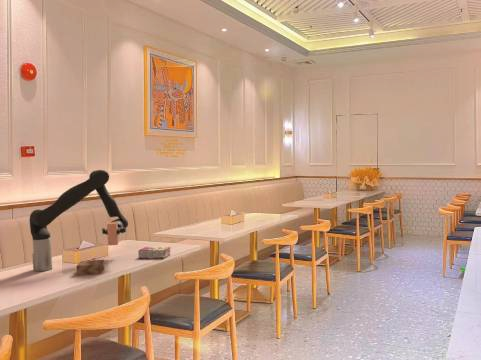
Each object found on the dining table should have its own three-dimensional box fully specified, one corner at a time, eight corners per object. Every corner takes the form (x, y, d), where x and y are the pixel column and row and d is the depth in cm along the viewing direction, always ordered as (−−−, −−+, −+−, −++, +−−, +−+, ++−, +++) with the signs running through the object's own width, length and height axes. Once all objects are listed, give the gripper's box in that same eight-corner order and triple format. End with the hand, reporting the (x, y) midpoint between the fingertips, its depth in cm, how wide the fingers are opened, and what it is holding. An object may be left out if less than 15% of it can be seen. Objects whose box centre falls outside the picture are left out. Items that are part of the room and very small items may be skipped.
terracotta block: (107, 245, 276) (106, 223, 275) (109, 243, 281) (108, 222, 280) (117, 245, 276) (116, 223, 276) (118, 243, 281) (117, 222, 281)
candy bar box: (145, 246, 308) (170, 246, 305) (145, 254, 309) (170, 254, 306) (138, 249, 297) (164, 250, 294) (138, 258, 298) (164, 258, 295)
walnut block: (77, 275, 260) (76, 265, 260) (81, 270, 272) (81, 261, 272) (100, 273, 262) (100, 264, 262) (104, 268, 274) (103, 259, 274)
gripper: (102, 222, 291) (98, 226, 274) (128, 221, 293) (125, 225, 276) (103, 235, 292) (99, 240, 275) (128, 233, 294) (125, 238, 277)
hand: (112, 232), depth 276 cm, fingers closed on terracotta block, 5 cm apart
